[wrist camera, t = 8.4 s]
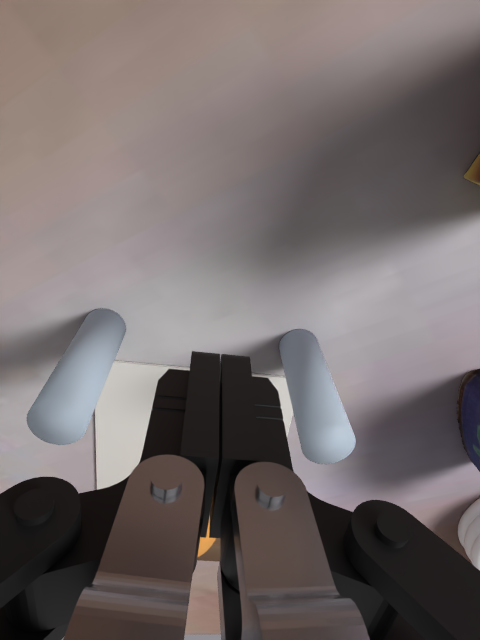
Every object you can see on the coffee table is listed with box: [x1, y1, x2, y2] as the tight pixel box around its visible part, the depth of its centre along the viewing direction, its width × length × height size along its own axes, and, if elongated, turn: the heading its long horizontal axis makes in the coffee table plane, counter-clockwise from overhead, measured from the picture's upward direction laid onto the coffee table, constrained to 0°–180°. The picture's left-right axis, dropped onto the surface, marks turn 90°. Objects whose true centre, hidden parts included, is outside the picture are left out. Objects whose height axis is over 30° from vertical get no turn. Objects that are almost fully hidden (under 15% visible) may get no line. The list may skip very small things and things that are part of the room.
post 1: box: [27, 308, 126, 445], centre depth 23 cm, size 3×3×9 cm
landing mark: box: [95, 360, 293, 490], centre depth 32 cm, size 14×14×1 cm
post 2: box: [279, 329, 356, 464], centre depth 24 cm, size 3×3×9 cm
